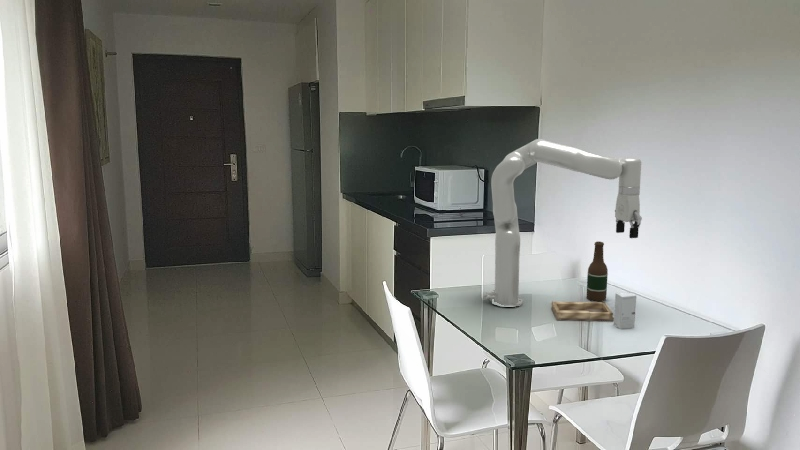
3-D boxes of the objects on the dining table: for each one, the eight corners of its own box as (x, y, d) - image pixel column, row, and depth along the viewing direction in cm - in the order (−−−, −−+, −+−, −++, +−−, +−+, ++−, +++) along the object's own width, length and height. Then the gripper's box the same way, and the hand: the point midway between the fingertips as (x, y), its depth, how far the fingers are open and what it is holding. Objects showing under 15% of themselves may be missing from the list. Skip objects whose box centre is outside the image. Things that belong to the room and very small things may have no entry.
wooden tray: (556, 320, 220) (557, 312, 219) (551, 308, 232) (551, 301, 232) (614, 321, 218) (615, 313, 217) (606, 309, 230) (606, 302, 230)
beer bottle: (607, 302, 238) (610, 244, 233) (587, 301, 240) (590, 244, 235) (604, 296, 245) (608, 240, 241) (585, 295, 247) (588, 239, 242)
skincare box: (619, 329, 210) (621, 296, 208) (612, 324, 214) (614, 293, 212) (635, 327, 211) (637, 295, 209) (627, 323, 216) (629, 291, 213)
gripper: (608, 188, 230) (606, 231, 234) (632, 194, 213) (629, 240, 217) (626, 187, 231) (623, 230, 235) (651, 193, 214) (648, 239, 218)
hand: (626, 235), depth 226 cm, fingers open, 9 cm apart
